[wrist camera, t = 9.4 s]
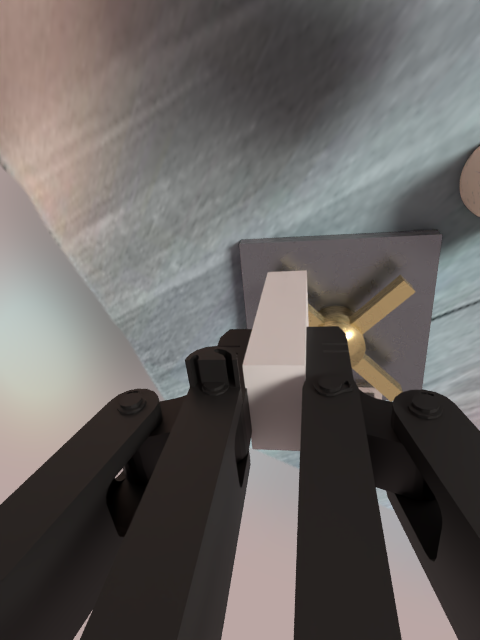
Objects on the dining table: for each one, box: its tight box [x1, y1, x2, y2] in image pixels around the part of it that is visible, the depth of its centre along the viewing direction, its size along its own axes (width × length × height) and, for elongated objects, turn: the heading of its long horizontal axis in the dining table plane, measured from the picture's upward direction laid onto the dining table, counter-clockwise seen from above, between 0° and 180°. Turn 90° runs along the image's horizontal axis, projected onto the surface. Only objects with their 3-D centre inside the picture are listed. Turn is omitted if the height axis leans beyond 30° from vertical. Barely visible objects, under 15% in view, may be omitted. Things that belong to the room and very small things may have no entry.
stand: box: [239, 230, 442, 400], centre depth 49 cm, size 22×22×4 cm
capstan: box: [308, 275, 416, 401], centre depth 46 cm, size 20×20×6 cm
